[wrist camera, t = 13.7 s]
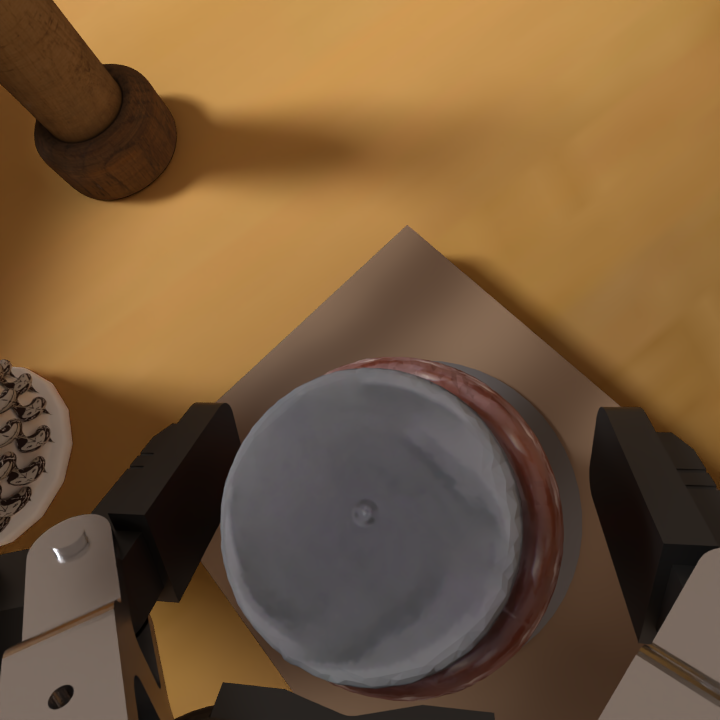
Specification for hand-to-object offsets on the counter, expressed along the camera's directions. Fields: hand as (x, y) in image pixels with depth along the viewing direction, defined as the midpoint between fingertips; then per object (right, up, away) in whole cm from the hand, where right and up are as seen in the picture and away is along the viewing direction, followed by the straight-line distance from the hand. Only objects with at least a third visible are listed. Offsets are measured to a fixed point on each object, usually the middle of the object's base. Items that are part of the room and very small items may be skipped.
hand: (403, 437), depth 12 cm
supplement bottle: (+1, -3, +6) cm, 7 cm away
